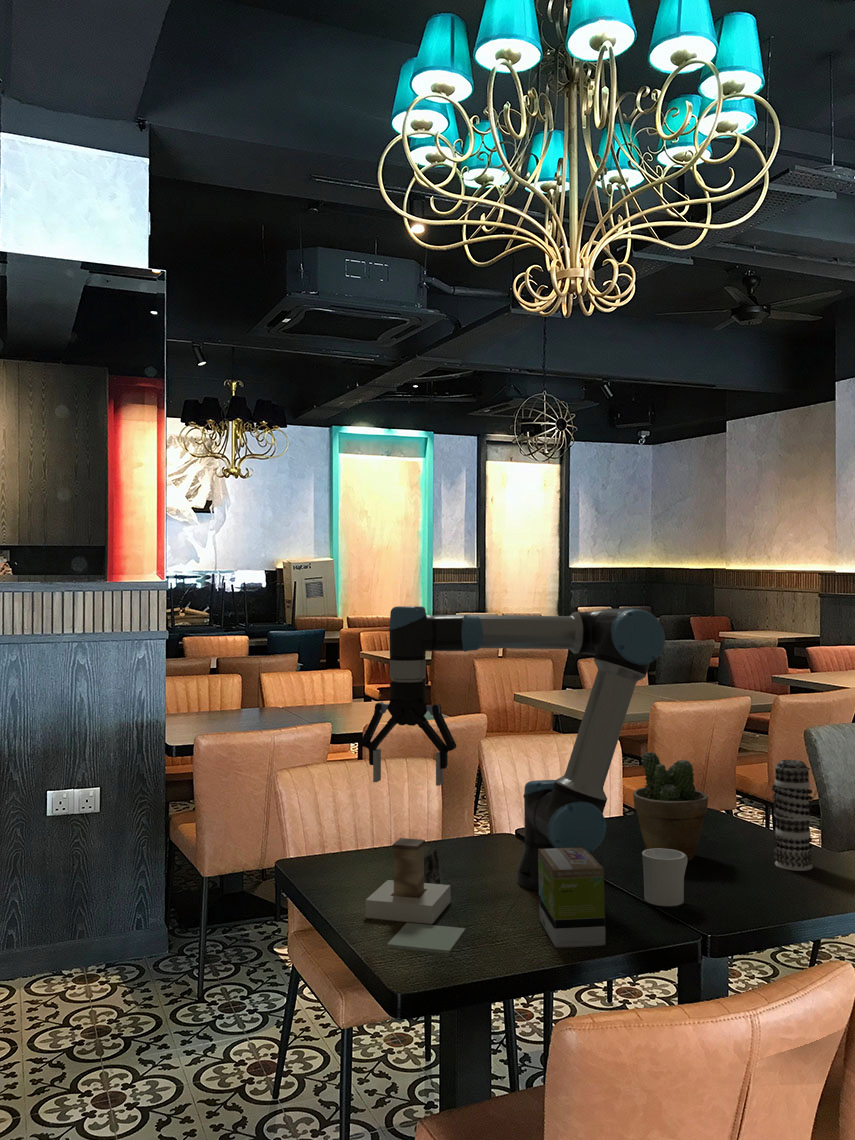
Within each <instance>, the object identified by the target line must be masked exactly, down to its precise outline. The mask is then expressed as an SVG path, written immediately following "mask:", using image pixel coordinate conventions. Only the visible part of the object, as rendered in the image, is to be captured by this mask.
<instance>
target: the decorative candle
mask: <svg viewBox="0 0 855 1140" xmlns="http://www.w3.org/2000/svg"><path fill="white" fill-rule="evenodd" d="M773 767H774V769H775V778H774V783H773V785H772V788H771V790H772V792H773V794H772V799H774V800H773V802H772V805H773V806H774V807H775V808H774V809H773V816H774V818H776V819H775V823H776V824H775V834H774V836H773V838H774V839H775V841H774V846H776V848H774V850H773V851H774V854H775V855H774V860H775V862H774V865H775V866H776V867H777V868H780V869H783V870H787V871H797V872H798V871H799V872H802V871H803V872H804V871H810V870H812V869H813V865H812V863H813V861H814V860H813V858H812V856H813V852H812V850H811V849H812V848H813V845H812V841H813V838H812V837H811V836H812V835H811V829H810V826H811V825H810V823H811V822H810V820H812V814H813V812H812V811H811V809H812V808H813V805H812V804H811V803H809V802H811V801H812V800H813V799H814V798H813V797H812V796H811V795H812V793H813V790H812V789H810V787H811V786H810V785H811V784H810V779H809V777H810V776H809V775H810V774H809V771H810V769H811V768H809V767H808V766H807V765H806V763H805V762H803V761H801V760H799V759H796V760H794V759H782V760H780V761H778V763H777V764H776V765H774V766H773Z"/></svg>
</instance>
